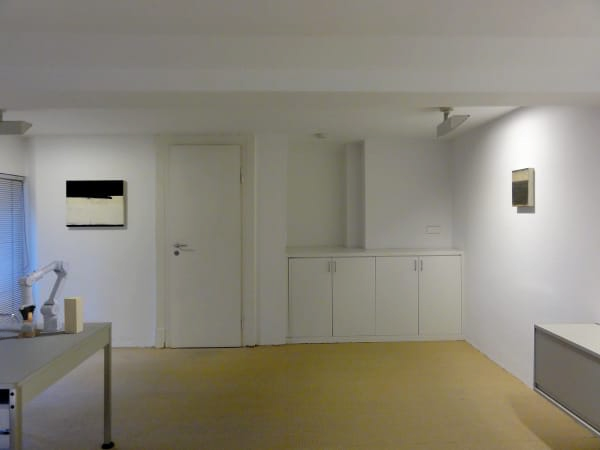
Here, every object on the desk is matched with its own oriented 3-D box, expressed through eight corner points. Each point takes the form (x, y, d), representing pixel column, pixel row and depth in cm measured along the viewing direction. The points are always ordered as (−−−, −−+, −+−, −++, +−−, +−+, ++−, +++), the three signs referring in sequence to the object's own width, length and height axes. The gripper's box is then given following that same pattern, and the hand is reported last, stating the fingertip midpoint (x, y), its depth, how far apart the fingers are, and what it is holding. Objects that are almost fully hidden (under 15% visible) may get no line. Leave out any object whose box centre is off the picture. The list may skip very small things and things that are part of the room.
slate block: (37, 329, 262) (37, 323, 262) (31, 331, 256) (31, 326, 256) (26, 329, 262) (26, 324, 261) (21, 332, 256) (21, 326, 256)
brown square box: (39, 334, 263) (39, 328, 263) (33, 338, 255) (32, 332, 255) (26, 335, 263) (25, 329, 263) (18, 338, 255) (18, 332, 255)
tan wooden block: (84, 330, 270) (83, 296, 269) (77, 333, 262) (75, 298, 262) (72, 330, 270) (71, 296, 270) (64, 333, 263) (63, 298, 263)
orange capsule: (33, 320, 261) (33, 312, 260) (29, 322, 256) (29, 313, 256) (26, 320, 260) (26, 312, 260) (22, 322, 256) (21, 314, 256)
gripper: (26, 294, 265) (27, 316, 265) (13, 299, 250) (13, 322, 251) (38, 294, 265) (39, 316, 266) (25, 298, 251) (26, 321, 251)
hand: (27, 319), depth 258 cm, fingers closed on orange capsule, 4 cm apart
